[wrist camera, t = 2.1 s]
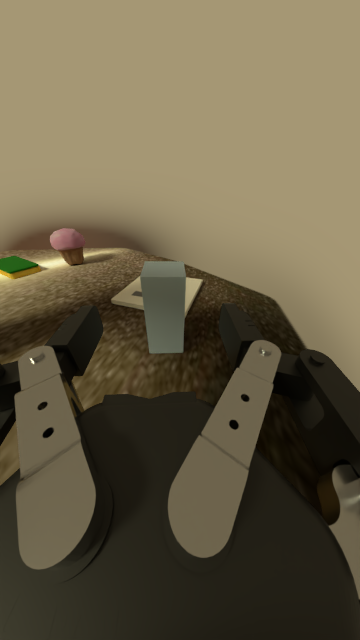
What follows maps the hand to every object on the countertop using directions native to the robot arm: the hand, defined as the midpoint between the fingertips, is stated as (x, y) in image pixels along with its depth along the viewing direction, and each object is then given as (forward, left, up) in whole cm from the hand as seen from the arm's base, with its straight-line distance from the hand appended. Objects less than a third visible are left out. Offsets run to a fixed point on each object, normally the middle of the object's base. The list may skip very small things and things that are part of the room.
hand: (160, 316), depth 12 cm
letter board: (-11, +26, -13) cm, 31 cm away
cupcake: (-44, +35, -13) cm, 57 cm away
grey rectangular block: (-4, +11, -13) cm, 17 cm away
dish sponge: (-56, +25, -14) cm, 63 cm away
